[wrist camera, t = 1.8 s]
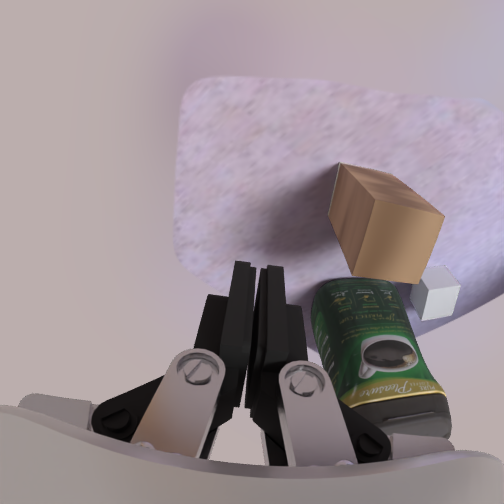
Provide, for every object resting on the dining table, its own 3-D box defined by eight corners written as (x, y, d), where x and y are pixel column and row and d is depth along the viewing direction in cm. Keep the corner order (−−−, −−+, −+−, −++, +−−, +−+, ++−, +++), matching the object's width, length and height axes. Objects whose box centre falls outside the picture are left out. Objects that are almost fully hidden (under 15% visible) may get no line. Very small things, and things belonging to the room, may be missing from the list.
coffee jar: (306, 331, 33) (317, 487, 17) (314, 273, 30) (341, 451, 13) (385, 329, 33) (427, 469, 17) (402, 274, 29) (476, 424, 13)
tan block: (391, 173, 24) (445, 216, 16) (377, 224, 27) (418, 284, 18) (339, 161, 24) (375, 199, 16) (327, 215, 27) (352, 275, 18)
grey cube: (444, 264, 28) (460, 285, 25) (438, 293, 30) (451, 315, 27) (414, 268, 29) (428, 290, 25) (409, 298, 31) (421, 321, 27)
